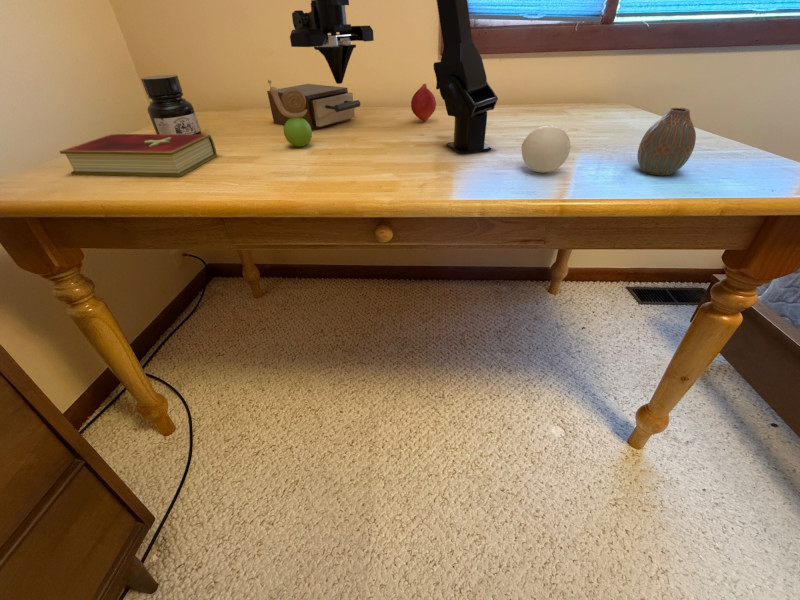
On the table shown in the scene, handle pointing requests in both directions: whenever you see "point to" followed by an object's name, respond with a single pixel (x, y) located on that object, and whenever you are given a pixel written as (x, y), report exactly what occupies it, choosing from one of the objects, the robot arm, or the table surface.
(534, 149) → the beige round ball
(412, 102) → the onion
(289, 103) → the snail figurine
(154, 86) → the ink bottle
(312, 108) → the drawer
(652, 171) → the vase
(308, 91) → the cabinet
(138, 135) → the hardcover book
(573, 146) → the table surface
